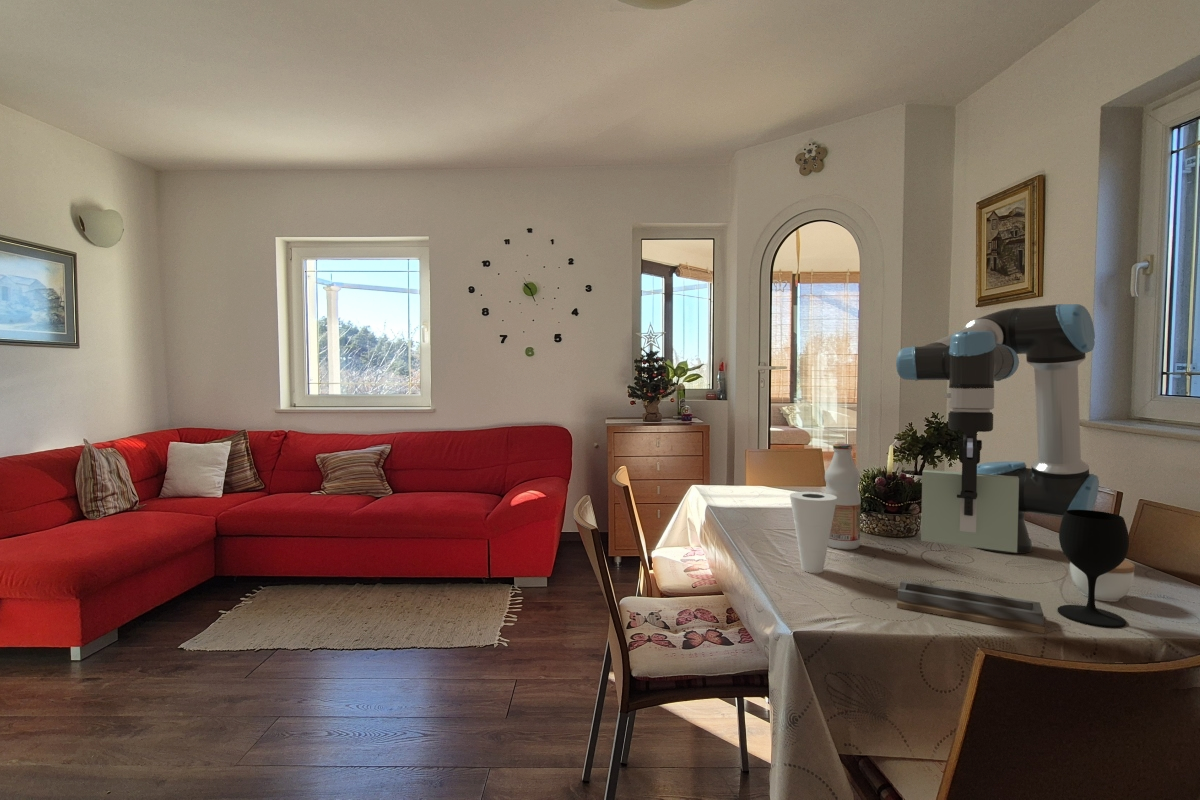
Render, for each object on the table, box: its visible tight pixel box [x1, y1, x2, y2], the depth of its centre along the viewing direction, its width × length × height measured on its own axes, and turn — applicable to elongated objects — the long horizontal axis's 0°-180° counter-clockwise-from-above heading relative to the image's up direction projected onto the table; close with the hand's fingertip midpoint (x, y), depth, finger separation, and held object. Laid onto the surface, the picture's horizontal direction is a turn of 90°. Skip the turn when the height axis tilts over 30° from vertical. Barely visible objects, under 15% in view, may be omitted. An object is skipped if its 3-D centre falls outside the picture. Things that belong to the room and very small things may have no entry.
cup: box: [789, 491, 837, 574], centre depth 145 cm, size 11×11×18 cm
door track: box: [896, 580, 1045, 635], centre depth 119 cm, size 24×10×3 cm, turn 58°
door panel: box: [920, 469, 1019, 554], centre depth 118 cm, size 16×3×14 cm, turn 58°
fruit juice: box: [823, 443, 862, 550], centre depth 166 cm, size 9×9×28 cm
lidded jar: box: [1069, 559, 1136, 603], centre depth 127 cm, size 11×11×9 cm
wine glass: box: [1057, 510, 1130, 629], centre depth 116 cm, size 10×10×20 cm
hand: (967, 529), depth 118 cm, fingers closed on door panel, 3 cm apart
